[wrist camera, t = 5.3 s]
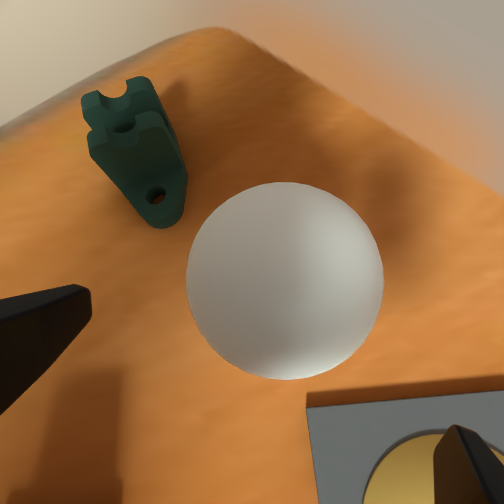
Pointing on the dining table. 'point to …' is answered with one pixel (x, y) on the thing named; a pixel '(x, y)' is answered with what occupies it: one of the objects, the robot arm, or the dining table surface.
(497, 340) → the dining table surface
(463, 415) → the parts mat
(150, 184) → the mount
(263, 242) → the lightbulb
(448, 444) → the robot arm
